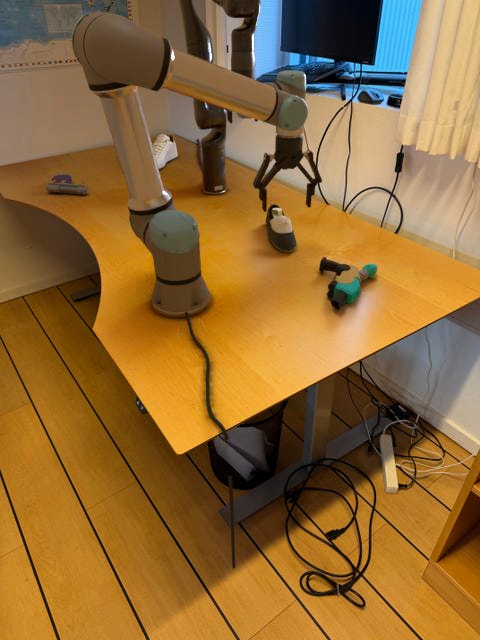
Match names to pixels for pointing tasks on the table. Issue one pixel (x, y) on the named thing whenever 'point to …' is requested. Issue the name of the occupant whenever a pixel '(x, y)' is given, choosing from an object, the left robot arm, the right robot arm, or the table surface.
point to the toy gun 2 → (345, 281)
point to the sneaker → (164, 149)
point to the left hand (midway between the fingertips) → (286, 208)
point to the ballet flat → (280, 229)
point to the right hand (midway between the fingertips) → (243, 122)
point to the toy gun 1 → (65, 185)
